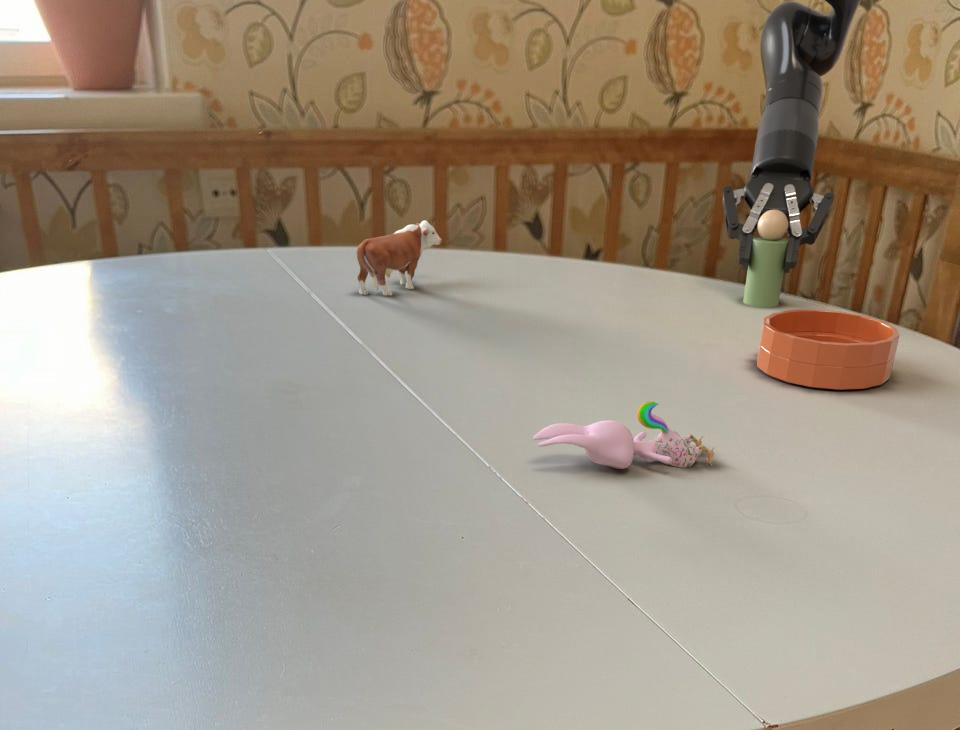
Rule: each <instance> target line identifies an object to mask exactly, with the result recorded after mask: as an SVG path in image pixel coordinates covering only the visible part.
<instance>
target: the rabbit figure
mask: <svg viewBox="0 0 960 730" xmlns="http://www.w3.org/2000/svg"><path fill="white" fill-rule="evenodd" d="M658 405H660V403H657V402H656V401H650V400H649V401H646V402H644V403H642V404H640V406H639V407H638V409H637V411H636V417H637V421H638V422H639V424H641V426H643V427H644V428H646V429H650V430H651V429H652V430H661V431H660V433H658V435H657V436H656V437H655V438H653V439H651V440H650V439H649V440H643V439H645V438H647V432H645V431H640V432H639V433H638V434H637V435H636V436H635V437H634V436H633V434H632V432H631V430H630V429H629V428H628V427H627V426H626V425H625V424H623V423H622V422H619V421H615V420H608V419H607V420H600V421H596V422H593V423H591V424H589V425H579V424H575V423H567V422H561V423H560V422H559V423H552V424H550V425H547V426H546V427H544V428H542V429H541V430H539V431H538V432H536V434H534V436H533V437H532V440H533V441H539V440H543V441H541V442H539V443H537V446H538V447H539V448H541V447H543V448H544V447H549V446H553V445H559V444H560V445H561V444H565V445H573V446H576V447H580V448H583V449H584V452H585V454H586V456H587V458H589V460H590V461H592V463H594V464H596V465H604V466H606V467H608V468H612V469H616V470H623V469H627V468H628V467H630V465H631V464H632V462H633V459H634V456H635V457H639V458H640V459H641V460H643V461H644V462H646V463H653V462H655V461H657V462H660V463H662V464H664V465H666V466H671V467H674V468H680V469H681V468H683V469H684V468H690V467H692V466H693V465H694V463H695V462H696V461H697V459H698V457H699V456H701V455H702V453H703V452H704V453H706V455H707V457H706V460H705V461H706V465H707V466H708V465H709V466H713V464H712V463H713V460H714V459H713V458H714V449H715V447H716V446H713V447H712V448H711V449H708V448H707V447H706V445H704V444H703V442H702V439H703V438H704V435H701V436H700V438H699V439H697V438H696V436H694V435H693V434H691V433H690V434H688V435H686V436H681V435H680V434H679V432H677V431H675V430H673V429H671V428H670V427H669V425H668V424H667V422H666V421H665V419H663V418H662V417H661V416H659V415H655V414H653V413H652V411H653V409H654V408H656V407H657V406H658ZM692 442H693V443H695V446H692V445H691V443H692Z"/></svg>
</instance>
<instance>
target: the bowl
mask: <svg viewBox="0 0 960 730" xmlns="http://www.w3.org/2000/svg"><path fill="white" fill-rule="evenodd" d="M900 336H901V335H900V333H899V330H898V328H897V327H896V326H893V325H892V324H890V323H889V322H886V321H885V320H881V319H877V318H874V317H872V316H871V317H870V316H867V315H864V314H859V313H852V312H847V311H839V310H828V309H827V310H826V309H816V308H815V309H813V308H812V309H788V310H782V311H778V312H773V313H771V314H769V315H767V316H765V317H764V318H763V320H762V327H761V333H760V338H759V344H758V345H759V346H758V350H757V358H756V367H757V368H758V369H759V370H761V371H762V372H763V373H764V374H766V375H768V376H770V377H773V378H775V379H778V380H781V381H783V382H786V383H790V384H794V385H800V386H804V387H809V388H816V389H829V390H839V391H840V390H865V389H869V388H872V387H877V386H882V385H883V384H884V383H886V382H887V381H888V380H890V378H891V375H892V370H893V366H894V362H895V357H896V353H897V350H898V349H897V348H898V344H899V340H900Z"/></svg>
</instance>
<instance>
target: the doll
mask: <svg viewBox="0 0 960 730" xmlns="http://www.w3.org/2000/svg"><path fill="white" fill-rule="evenodd" d="M757 228H758V231H757V232H758V235H756V236H754V237H753V239H752V246H751V252H750V259H749V266H748V270H747V271H746V272H747V273H746V280H745V285H744V293H743V298H742V303H743V304H745V305H747V306H751V307H757V308H774V307H778V306H779V303H780V297H781V291H782V285H783V278H784V273H783V272H784V266H785V260H786V254H787V248H788V242H789V238H786V237H784V236H785V234H787V233H786V231H787V228H788V220H787V217H786V215H785V214H784V213H783V212H781V211H779V210H769V211H767V212H765V213H764V214H763V215H762V216H761V217H760V219H759V221H758V226H757Z"/></svg>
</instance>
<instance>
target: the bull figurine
mask: <svg viewBox="0 0 960 730" xmlns="http://www.w3.org/2000/svg"><path fill="white" fill-rule="evenodd" d="M442 240H443V239H442V238H441V237H440V236H439V234H438V232H437V231H436V229H435V227H434V226H433V225H431V223H430V222H429V221H427V220H426V219H425V220H422V221H421V222H420V223H419V222H416V223H415V224H414V223H413V224H408V225H406V226H404V227H403V228H402V229H398V230H396V231H395V232H393V233H390V234H386V235H382V236H377V237H371V238H366V239H364V240H363V241H362V242H361V243H359V245H358V246H357V248H356V259H357V263H358V266H359V273H358V275H357V281H358V285H359V291H358V294H360V295H363V296H365V295H366V296H367V295H368V294H369V292H368V291H367V289H366V280H367V278H368V275H369V277H370V281H371V284H372V285H373V288H374V289H375V291H378V290H379V286H380V287H381V290H382V296H386V297H388V296H393V292H391V290H390V289H389V287H388V285H387V282H386V278H387V279H390V277H391V275H392V273H393V272H398V274H399V277H400V281H399V284H400V285H401V286H405V289H407V290H414V289H415V287H414V285H413V279H414V277H415V272H416V269H417V267H418V264H419V260H420V257H422V255H423V252H424V251H426V250H427V251H428V250H429V249H430V248H431V247H432V246H434V245H436V246H440V245H441V244H442ZM406 276H407V278H406Z"/></svg>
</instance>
